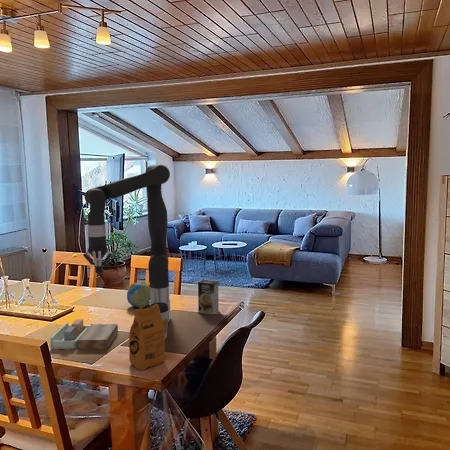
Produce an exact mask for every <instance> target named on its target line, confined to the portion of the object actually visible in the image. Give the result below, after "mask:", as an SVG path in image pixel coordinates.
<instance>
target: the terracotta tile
mask: <svg viewBox="0 0 450 450" xmlns="http://www.w3.org/2000/svg"><path fill="white" fill-rule="evenodd" d="M70 326H71V327H76V337H78V336H79V335H80V334H81V333H82V332H83V331H84V319H81V318H80V319H75V320H74V321H73V322H72V323H71V325H70Z"/></svg>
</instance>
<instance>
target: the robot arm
mask: <svg viewBox="0 0 450 450" xmlns="http://www.w3.org/2000/svg"><path fill="white" fill-rule="evenodd" d="M170 176H171V171H170V170H169V168H168V167H167V166H166V165H164V164H157V163H156V164H151V165H148V166H147V167H146V169H145V172H143V173H140V174H138V175H133V176H129V177H124V178H121V179H118V180H115V181H112V182H110V183H107V184H104V185H100V186H96V187H93V188H90V189H88V190H86V192H85V193H84V196H83V197H84V201H85V203H87V204H88V205H89V212H88V213H87V239H88V240H87V241H88V248H87V251H86V252H85V253H83V256H82V257H84V258H85V259H86V261H87V262H88V263H89V264H90V265H91V266H94V268H95V273H96V275H101V274H102V273H103V272H104V266H105V265H106V264H107V263H108V262H109V260H110V259H111V258H112V256H113V255H114V252H112V251H110V250H109V249H108V246H107V245H108V243H107V228H106V220H105V213H106V212H105V211H106V205H107V200H111V199H113V200H114V199H118V198H120V197H122V196H125V195H128V194H130V193H131V194H132V193H133V192H136V191H138V190H141V189H144V188H146V195H147V228H148V234H149V238H150V257H149V260H148V282H149V286H150V304H149V306H150V305H151V304H153V303H158V302H162V303H166V304H167V306H168V323H170V321H171V318H172V316H171V315H172V314H171V299H170V279H169V255H168V249H167V248H168V247H167V237H168V222H169V221H168V210H167V207H166V203H165V201H164V197H163V192H162V185H164V184H166V183H167V182H168V181H169V179H170ZM104 257H105V259H104Z"/></svg>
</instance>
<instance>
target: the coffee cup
mask: <svg viewBox="0 0 450 450" xmlns="http://www.w3.org/2000/svg"><path fill="white" fill-rule="evenodd" d="M155 304H158V306H159V309H160V314H161V316H162V320H163V325H164V340H166V339H167V337H168V326H169V325H168V324H169V322H168V306H167V304H166V303H162V302H158V303H153V304H151V305H150V304H149V308H150V307H152V306H153V305H155ZM149 308H148V309H149Z"/></svg>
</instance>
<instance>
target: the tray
mask: <svg viewBox="0 0 450 450" xmlns="http://www.w3.org/2000/svg"><path fill="white" fill-rule="evenodd" d="M83 325H84V324H83ZM89 326H90V325H89V324H88V325H87V324H86V325H84V331H83V332H82V333H81V334H80V335H79V336H78V337H77V339H76V340H74V341H64V331H65V330H66V329H67V328H68V327H71V325H69V322H65V323H64V324H63V325H62V326H61V327H60V328H59V329H58V330H57V331H56V332H55V333H54V334H53V335H52V336H50V338H49V339H50V350H51V349H54V351H55V349H56V350H57V349H65V350H76V349H78V344H77V340H78V339H79V338H80V336H81V335H82V334H83V333H84V332H85V331H86V330H87V328H88V327H89Z"/></svg>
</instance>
